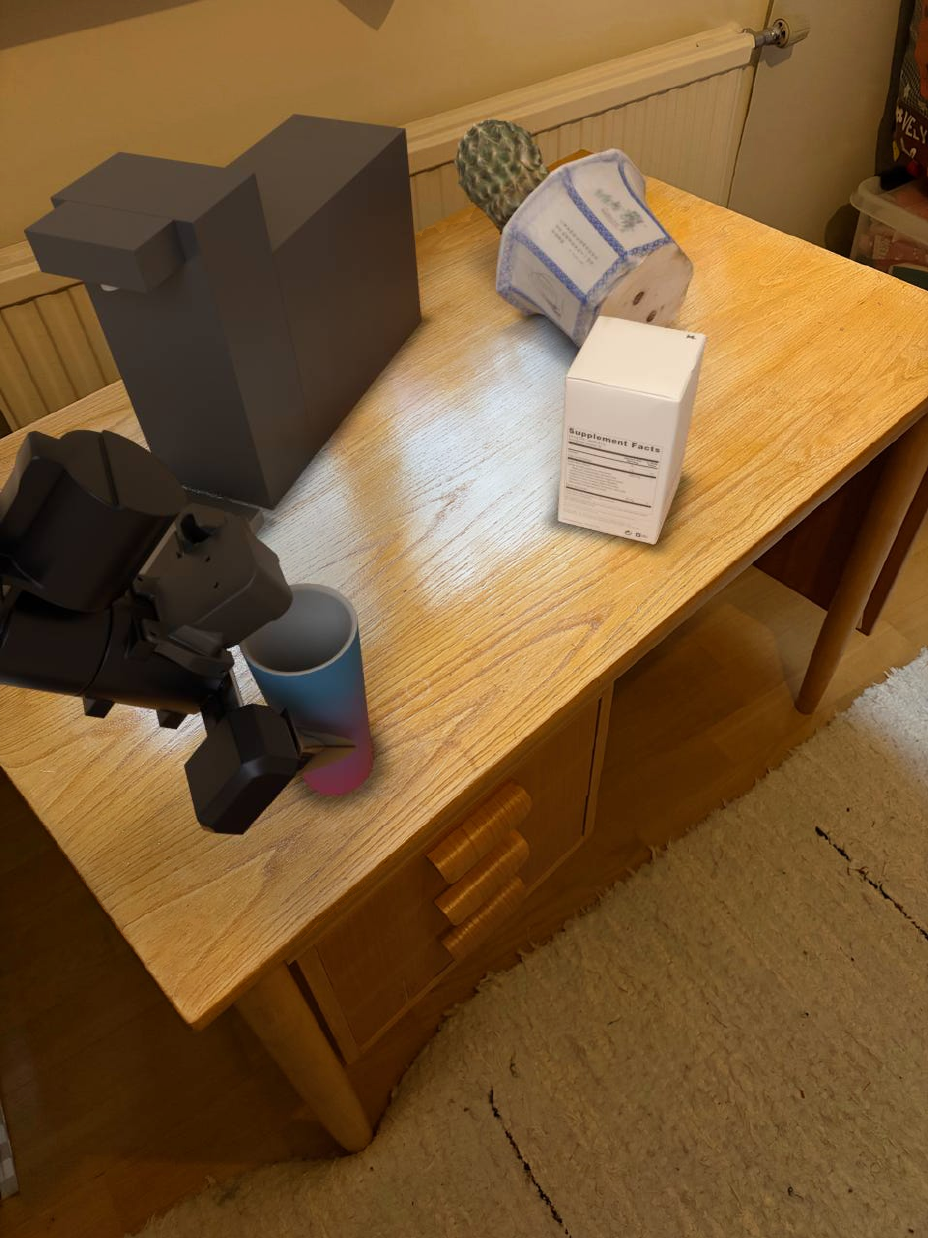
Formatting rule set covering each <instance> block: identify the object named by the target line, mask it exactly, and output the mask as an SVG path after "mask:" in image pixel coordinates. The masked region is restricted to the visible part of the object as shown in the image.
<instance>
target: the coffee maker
mask: <svg viewBox="0 0 928 1238" xmlns="http://www.w3.org/2000/svg"><path fill="white" fill-rule="evenodd" d="M411 190H412V187H411V176H410V166H409V151H408V141H407V129H406V127H398V126H390V125H381V124H375V123H367V122H359V121H353V120H344V119H338V118H337V119H336V118H329V117H321V116H313V115H305V114H299V113H293V114H292V115H291V116H290V117H288V118H287V119H286V120H284V121H283V122H282V123H280V124H279V125H278V126H276V127H275V128H274V129H273V130H271V131H270V132H269V133H267V134H266V135H265V136H263V137H262V138H261V139H259V140H258V141H257V142H256V143H255V144H253V145H251V146H250V147H249V148H248V149H247V150H245V151H244V152H242V153H241V154H240V155H239V156H238V157H236V158H235V159H234V160H233V161H231V162H230V163H229V164H227V165H226V166H225V167H222V166H216V165H209V164H203V163H196V162H190V161H184V160H177V159H169V158H164V157H158V156H151V155H144V154H137V153H131V152H124V151H117V152H116V153H115V154H113V155H111V156H110V157H109V158H107V159H106V160H104V161H102V162H101V163H99V164H98V165H96V166H95V167H93V168H92V169H90V170H89V171H88V172H86V173H84V174H83V175H82V176H80V177H78V178H77V179H76V180H74V181H73V182H71V183H69V184H68V185H66V186H65V187H63V188H62V189H61V190H59V191H58V192H56V193H54V194H53V195H51V196H50V202H51V204H52V206H53V209H52V210H50V212H48V213H47V214H44V215H43V216H42V217H40V218H39V219H37V220H36V221H35V222H33V223H32V224H30V225H29V226H27V227H26V228H24V229H23V232H24V235H25V237H26V239H27V242H28V244H29V247H30V249H31V252H32V253H33V256H34V259H35V261H36V264H37V265H38V268H39V269H40V272H41V273H43V274H49V275H53V276H59V277H62V278H68V279H74V280H78V281H82V282H83V285H84V288H85V289H86V293H87V295H88V298H89V300H90V303H91V305H92V308H93V310H94V313H95V315H96V318H97V321H98V323H99V325H100V328H101V331H102V333H103V335H104V338H105V340H106V343H107V345H108V348H109V351H110V353H111V356H112V359H113V361H114V363H115V366H116V368H117V371H118V373H119V376H120V379H121V381H122V384H123V386H124V389H125V391H126V394H127V396H128V399H129V401H130V404H131V406H132V409H133V412H134V414H135V417H136V419H137V422H138V424H139V427H140V429H141V431H142V432H141V433H142V434H143V437H144V439H145V442H146V445H147V447H148V449H149V452H151V453H152V454H153V455H155V456H156V457H157V458H159V459H160V460H161V461H162V462H163V463H164V464H165V465H166V466H167V467H168V468H169V469H170V470H171V471H172V472H173V473H174V475H175V476H176V477H177V478H178V480H179V482H180V483H181V485H182V487H185V488H188V489H189V488H190V489H193V490H197V491H200V492H204V493H207V494H212V495H216V496H219V497H223V498H226V499H228V500H229V499H230V500H234V501H237V502H239V503H240V502H241V503H245V504H248V505H252V506H255V507H258V508H261V509H262V508H263V509H267V510H270V511H274V510H275V509H276V507H277V506H278V505H279V503H280V502H281V501H282V499H283V498H284V497H285V496H286V494H287V493H288V492H289V491H290V489H291V488H292V487H293V486H294V484H295V483H296V482H297V480H298V479H299V478H300V476H301V475H302V474H303V473H304V472H305V470H306V469H307V468H308V467H309V465H310V464H311V463H312V461H313V460H314V459H315V457H316V456H317V455H318V454H319V452H320V451H321V450H322V449H323V447H324V446H325V445H326V444H327V442H328V441H329V440H330V439H331V437H332V436H333V434H335V432H336V431H337V430H338V428H339V427H340V426H341V425H342V423H343V422H344V420H345V419H346V418H347V417H348V415H349V414H350V413H351V412H352V410H353V409H354V408H355V407H356V405H357V404H358V403H359V402H360V400H361V399H362V397H363V396H364V395H365V394H366V393H367V391H368V390H369V389H370V387H371V386H372V385H373V384H374V382H375V381H376V380H377V379H378V377H379V376H380V375H381V373H383V371H384V370H385V369H386V367H387V366H388V364H390V362H391V361H392V360H393V359H394V357H395V356H396V354H397V353H399V351H400V350H401V348H402V347H403V346H404V344H405V343H406V342H407V340H408V339H409V338H410V337H411V335H413V333H414V332H415V330H416V329H417V328H418V327H419V325H420V324H421V323H422V311H421V298H420V287H419V276H418V275H419V274H418V262H417V260H418V259H417V250H416V249H417V248H416V238H415V225H414V224H415V223H414V213H413V201H412V191H411Z"/></svg>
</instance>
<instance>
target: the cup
mask: <svg viewBox="0 0 928 1238" xmlns="http://www.w3.org/2000/svg"><path fill="white" fill-rule="evenodd" d="M288 585H289V586H290V588H291V591H292V594H293V600H292V604H291V606H290V608H289V610H288V611H287V612H286V613H285V614H284V615H283V616H282V617H280V618H279V619H277V620H275V621H270V622H268V623H267V624H266V625H264V626H263V627H261V628H260V629H259V630H257V631H256V632H254V633H253V634H252V635H250V636H249V637H247V638H246V639H245V640H243V641H242V642H240V643H239V644H238V645H237V646H238V647H239V650H240V653H241V655H242V657H243V660H244V661H245V663H246V665H247V668H248V669H249V672H250V673H251V675H252V678H253V679H254V682H255V683H256V686H257V687H258V690H259V692H260V694H261V695H262V698H263V699H264V701H265V704H266V706H269V707H271V708H272V709H273V710H274V711H275V712H277V713H278V714H280V713H281V712H282V710H283V709H284V708H285V707H287V708H288V709H289V711H290V714H291V717H292V720H293V722H294V725H295V726H297V727H301V728H305V729H310V730H314V731H319V732H323V733H328V734H332V735H337V736H340V737H343V738H346V739H348V740H351V741H354V742H355V744H356V749H355V750H354V751H353V752H352V753H351V755H350V756H348V757H347V758H345V759H342V760H340V761H337V762H334V763H332V764H329V765H327V766H324V767H322V768H319V769H316V770H314V771H311V772H309V773H306V774H303V775H301V777H302V778H303V781H304V782H305V783H306V785H307V786H308V787H309V788H310V789H311V790H313V791H314V792H316V793H318V794H321V795H325V796H332V797H333V796H341V795H346V794H348V793H350V792H353V791H355V790H356V789H359V787H360V786H362V785H363V783H365V782H366V780H367V779H368V778H369V776H370V774H371V772H372V769H373V765H374V756H373V746H372V745H373V744H372V738H371V729H370V718H369V710H368V709H369V708H368V702H367V701H368V700H367V691H366V683H365V674H364V665H363V664H364V663H363V655H362V646H361V637H360V629H359V620H358V619H359V618H358V614H357V611H356V609H355V607H354V605H353V603H352V602H351V601H350V600H349V598H348V597H347V596H346V595H344V594H343V593H342V592H340V591H339V590H337V589H335V588H333V587H331V586H328V585H323V584H319V583H311V582H303V583H302V582H301V583H293V584H288Z"/></svg>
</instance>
